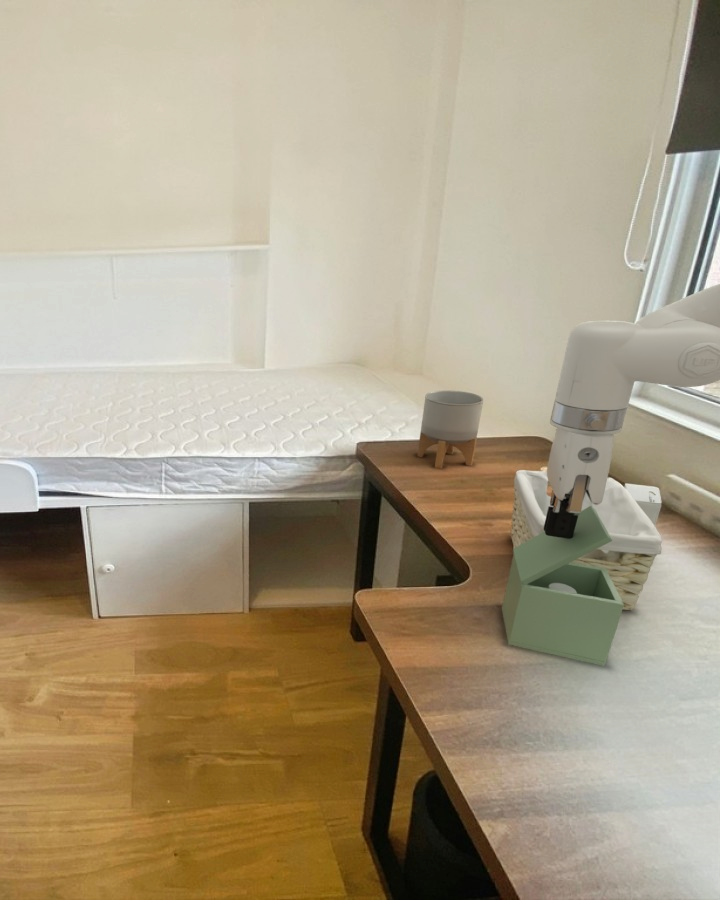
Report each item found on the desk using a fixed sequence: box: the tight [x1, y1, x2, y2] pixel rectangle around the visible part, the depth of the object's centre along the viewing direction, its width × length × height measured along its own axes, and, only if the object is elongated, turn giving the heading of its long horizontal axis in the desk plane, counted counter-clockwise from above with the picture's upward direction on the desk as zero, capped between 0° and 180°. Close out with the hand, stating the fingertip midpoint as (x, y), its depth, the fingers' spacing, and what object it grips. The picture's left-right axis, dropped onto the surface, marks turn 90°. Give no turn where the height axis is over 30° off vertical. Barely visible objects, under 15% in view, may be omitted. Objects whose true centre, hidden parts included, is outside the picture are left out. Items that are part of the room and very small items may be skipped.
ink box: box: [623, 483, 663, 527], centre depth 104 cm, size 8×5×12 cm, turn 141°
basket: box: [510, 469, 663, 611], centre depth 98 cm, size 24×16×15 cm
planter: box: [416, 390, 484, 470], centre depth 146 cm, size 13×13×18 cm
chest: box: [501, 554, 624, 667], centre depth 84 cm, size 12×10×11 cm
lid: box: [512, 506, 612, 585], centre depth 81 cm, size 12×10×1 cm
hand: (557, 534), depth 81 cm, fingers closed
